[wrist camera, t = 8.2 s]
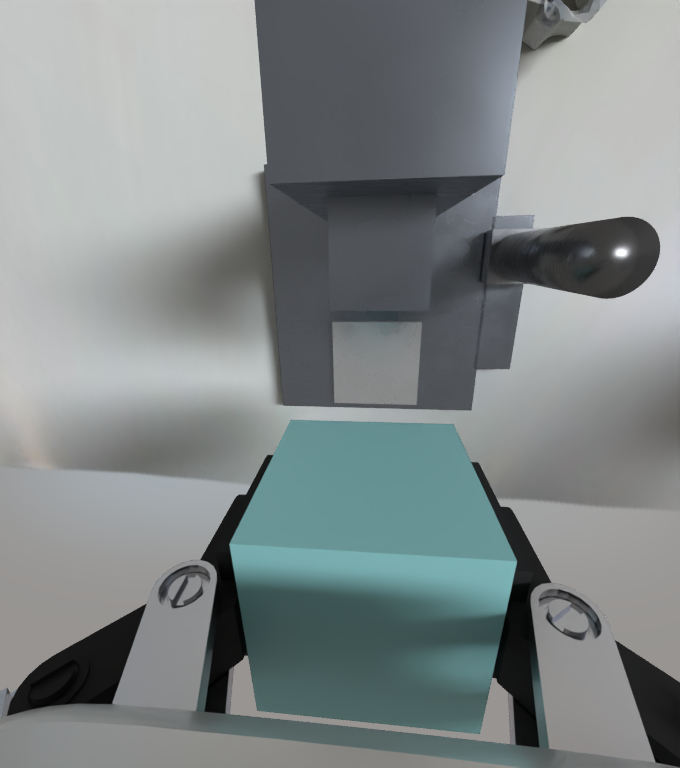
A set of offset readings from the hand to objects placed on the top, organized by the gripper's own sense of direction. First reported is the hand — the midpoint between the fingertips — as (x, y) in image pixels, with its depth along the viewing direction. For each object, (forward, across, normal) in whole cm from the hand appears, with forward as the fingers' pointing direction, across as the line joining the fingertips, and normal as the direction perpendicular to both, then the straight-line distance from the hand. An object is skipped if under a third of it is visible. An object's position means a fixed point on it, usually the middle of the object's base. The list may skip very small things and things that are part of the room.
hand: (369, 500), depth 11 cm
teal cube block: (+1, 0, 0) cm, 1 cm away
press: (+16, -1, -5) cm, 16 cm away
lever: (+14, -8, -7) cm, 18 cm away
